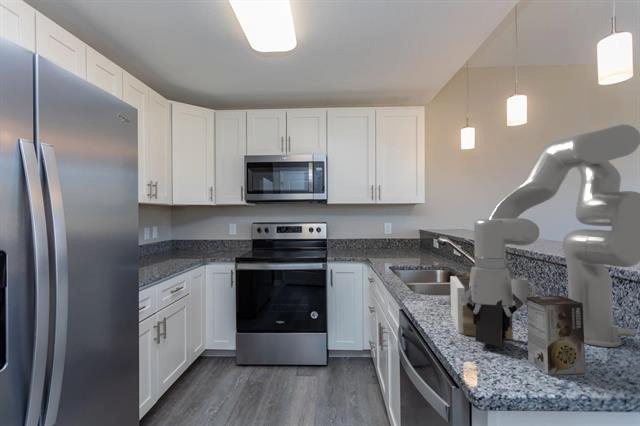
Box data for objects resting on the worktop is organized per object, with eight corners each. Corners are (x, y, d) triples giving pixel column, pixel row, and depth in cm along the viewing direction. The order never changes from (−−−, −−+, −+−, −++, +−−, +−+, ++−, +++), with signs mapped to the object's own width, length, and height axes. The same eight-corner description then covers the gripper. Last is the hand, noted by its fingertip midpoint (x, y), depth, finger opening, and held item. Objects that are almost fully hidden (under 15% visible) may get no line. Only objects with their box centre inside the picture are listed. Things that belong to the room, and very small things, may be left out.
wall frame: (457, 314, 108) (456, 276, 108) (465, 333, 90) (464, 288, 91) (451, 314, 108) (450, 276, 108) (458, 333, 91) (457, 287, 91)
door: (462, 333, 90) (462, 303, 90) (511, 337, 86) (510, 307, 86) (463, 335, 88) (463, 305, 88) (513, 340, 84) (513, 309, 84)
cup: (510, 295, 132) (509, 275, 132) (537, 299, 125) (537, 278, 125) (506, 299, 126) (506, 278, 126) (535, 303, 119) (534, 281, 120)
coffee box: (562, 360, 73) (560, 295, 74) (586, 374, 67) (584, 302, 67) (526, 361, 73) (525, 296, 73) (548, 375, 66) (546, 303, 67)
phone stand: (500, 347, 77) (499, 301, 77) (475, 341, 81) (474, 297, 81) (506, 336, 83) (506, 294, 84) (483, 331, 87) (482, 290, 88)
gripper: (520, 262, 83) (522, 326, 83) (454, 260, 89) (455, 320, 88) (531, 266, 76) (532, 336, 76) (458, 264, 81) (459, 329, 81)
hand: (491, 327), depth 82 cm, fingers closed on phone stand, 6 cm apart
